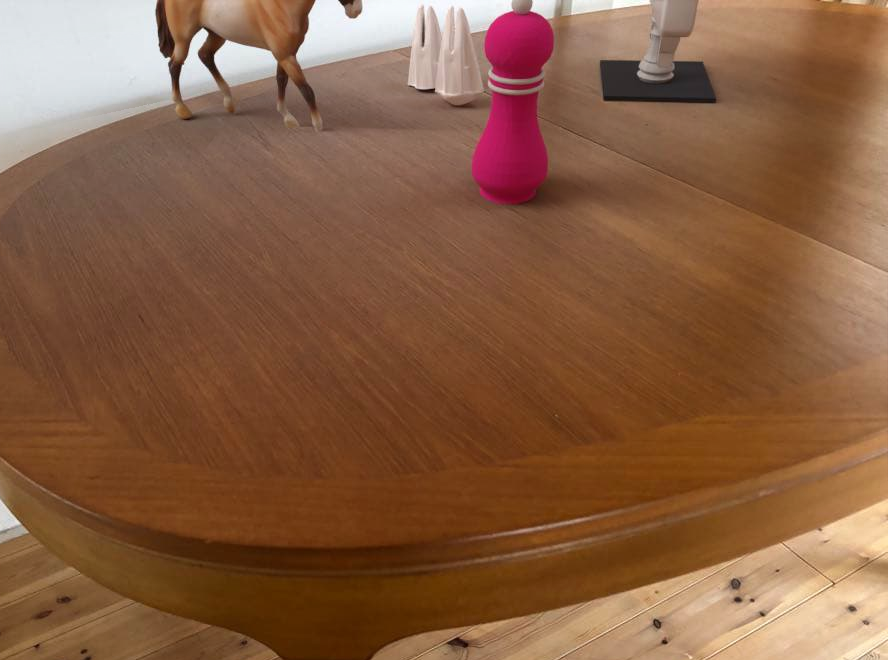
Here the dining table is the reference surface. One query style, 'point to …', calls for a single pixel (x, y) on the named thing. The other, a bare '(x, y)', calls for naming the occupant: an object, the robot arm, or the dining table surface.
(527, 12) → the pepper mill
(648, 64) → the rook chess piece
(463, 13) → the shaker set
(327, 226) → the dining table surface
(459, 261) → the dining table surface
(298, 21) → the horse figurine
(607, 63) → the placemat
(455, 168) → the dining table surface
